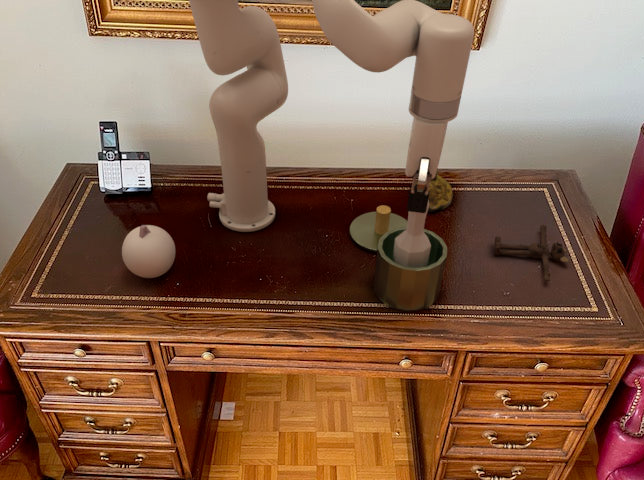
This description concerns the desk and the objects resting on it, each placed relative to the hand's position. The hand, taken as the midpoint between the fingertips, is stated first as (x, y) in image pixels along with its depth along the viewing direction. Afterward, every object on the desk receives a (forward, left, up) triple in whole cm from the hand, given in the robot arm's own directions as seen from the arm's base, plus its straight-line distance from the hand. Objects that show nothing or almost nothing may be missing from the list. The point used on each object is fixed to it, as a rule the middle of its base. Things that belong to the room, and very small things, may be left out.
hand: (418, 194), depth 109 cm
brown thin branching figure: (+24, +15, -22) cm, 36 cm away
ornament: (-51, -5, -22) cm, 56 cm away
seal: (+3, +33, -22) cm, 40 cm away
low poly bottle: (0, 0, -22) cm, 22 cm away
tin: (0, 0, -22) cm, 22 cm away
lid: (-6, +16, -22) cm, 27 cm away
